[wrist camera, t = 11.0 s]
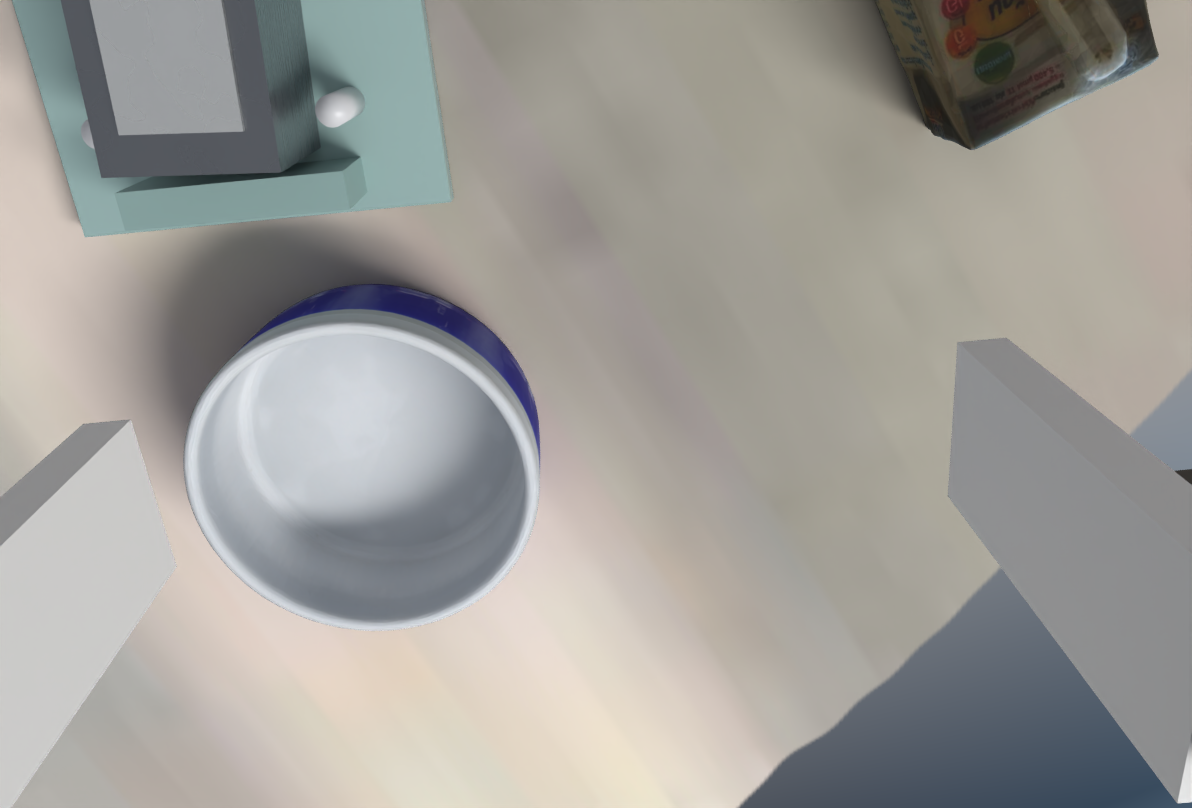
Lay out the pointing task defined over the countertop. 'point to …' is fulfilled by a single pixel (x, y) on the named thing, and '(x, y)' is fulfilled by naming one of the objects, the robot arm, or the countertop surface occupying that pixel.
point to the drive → (194, 85)
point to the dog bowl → (367, 459)
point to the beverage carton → (1012, 58)
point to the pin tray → (311, 186)
